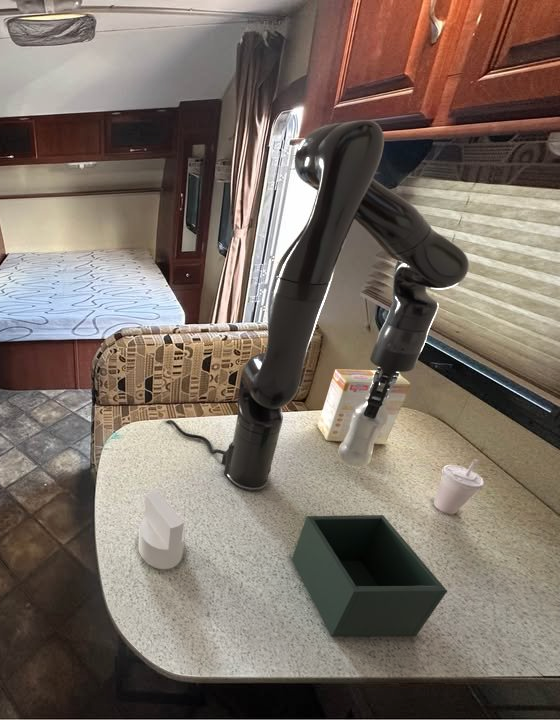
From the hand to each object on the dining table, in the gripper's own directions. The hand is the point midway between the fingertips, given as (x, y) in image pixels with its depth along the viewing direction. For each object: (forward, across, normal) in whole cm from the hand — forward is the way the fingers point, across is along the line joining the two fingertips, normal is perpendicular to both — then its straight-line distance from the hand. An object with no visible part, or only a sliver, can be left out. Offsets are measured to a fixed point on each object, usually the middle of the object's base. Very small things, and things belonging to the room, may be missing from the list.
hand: (372, 410), depth 85 cm
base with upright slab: (+19, -51, +23) cm, 59 cm away
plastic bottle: (+16, 0, 0) cm, 16 cm away
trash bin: (+18, -36, -7) cm, 41 cm away
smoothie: (+18, 0, -18) cm, 26 cm away
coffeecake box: (+18, +15, +3) cm, 24 cm away
